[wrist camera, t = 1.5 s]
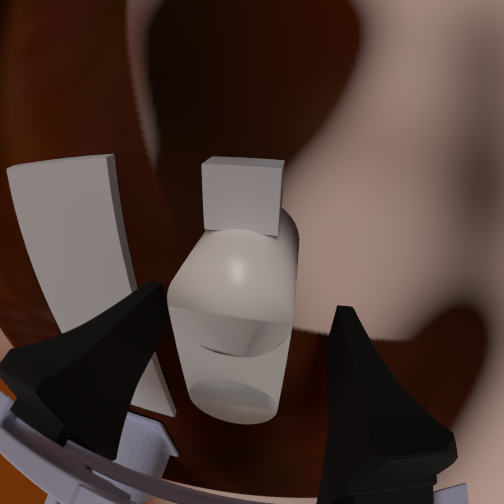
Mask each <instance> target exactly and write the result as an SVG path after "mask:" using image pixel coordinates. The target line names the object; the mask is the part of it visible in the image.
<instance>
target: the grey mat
mask: <svg viewBox="0 0 504 504" xmlns="http://www.w3.org/2000/svg"><path fill="white" fill-rule="evenodd" d="M7 175H8V180H9V185H10V189H11V194H12V198H13V203H14V207H15V210H16V214H17V218H18V222H19V225H20V229H21V232H22V235H23V239H24V242H25V245H26V248H27V251H28V254H29V257H30V260H31V262H32V265H33V268H34V271H35V273H36V276H37V278H38V281H39V283H40V286H41V288H42V291H43V293H44V295H45V298H46V300H47V302H48V305H49V307H50V309H51V311H52V313H53V315H54V318H55V320H56V322H57V324H58V326H59V328H60V330H61V332H62V333H65V332H67V331H69V330H72V329H74V328H76V327H78V326H80V325H82V324H84V323H85V322H87V321H89V320H91V319H93V318H94V317H96V316H97V315H99V314H101V313H102V312H104V311H105V310H107V309H109V308H110V307H112V306H113V305H115V304H116V303H118V302H119V301H121V300H122V299H124V298H125V297H126V296H128V295H129V294H131V293H132V292H134V291H135V290H137V289H138V288H137V283H136V279H135V275H134V270H133V266H132V261H131V257H130V252H129V247H128V242H127V237H126V232H125V226H124V220H123V214H122V208H121V202H120V195H119V188H118V181H117V173H116V164H115V155H114V154H106V155H93V156H82V157H72V158H63V159H55V160H47V161H40V162H33V163H26V164H20V165H14V166H12V167H10V168H7ZM131 404H133V405H136V406H139V407H142V408H145V409H148V410H151V411H154V412H158V413H161V414H165V415H168V416H172V417H175V414H176V412H177V411H176V409H175V406H174V404H173V401H172V398H171V396H170V393H169V390H168V387H167V385H166V382H165V379H164V376H163V373H162V370H161V367H160V364H159V361H158V358H157V355H156V352H154V354H153V356H152V358H151V360H150V361H149V363H148V365H147V367H146V369H145V371H144V373H143V374H142V376H141V378H140V381H139V383H138V385H137V388H136V390H135V393H134V396H133V398H132V401H131Z"/></svg>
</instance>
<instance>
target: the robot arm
mask: <svg viewBox="0 0 504 504" xmlns="http://www.w3.org/2000/svg"><path fill="white" fill-rule="evenodd" d="M168 320H169V316H168V311H167V306H166V301H165V296H164V291H163V286H162V283H158V282H152V281H149V282H147V283H146V284H144V285H143V286H141V287H140V288H138V289H137V290H135V291H134V292H132V293H131V294H129V295H128V296H126V297H125V298H124V299H122V300H121V301H119V302H118V303H116V304H115V305H113V306H112V307H110V308H109V309H107V310H105V311H104V312H102V313H101V314H99V315H97V316H96V317H94V318H93V319H91V320H89V321H87V322H85V323H84V324H82V325H80V326H78V327H76V328H74V329H72V330H69V331H67V332H65V333H62V334H60V335H58V336H55V337H53V338H50V339H47V340H44V341H41V342H38V343H34V344H31V345H26V346H22V347H17V348H12V349H10V350H9V352H8V353H7V354H6V356H5V357H4V358H3V360H2V361H1V362H0V377H1V379H2V380H3V381H4V382H5V384H6V385H7V386H8V387H9V389H10V390H11V391H12V392H13V393H14V394H15V396H16V397H17V399H16V401H15V402H14V401H13V400H12V399H11V398H9V397H8V396H7V395H6V394H4V393H3V392H2V391H0V453H1V454H2V455H3V456H4V457H5V458H6V459H7V460H8V461H9V462H10V463H11V464H12V465H14V466H15V467H16V468H17V469H18V470H19V471H20V472H21V473H23V474H24V475H25V476H26V477H27V478H28V479H30V480H31V481H32V482H33V483H35V484H36V485H37V486H38V487H40V488H41V489H42V490H44V491H45V492H46V493H48V496H47V499H46V501H45V504H144V502H146V501H148V500H150V499H151V498H152V497H153V496H155V497H158V498H161V499H164V500H167V501H171V502H174V503H177V504H271V503H263V502H255V501H248V500H242V499H236V498H230V497H225V496H220V495H216V494H211V493H206V492H202V491H198V490H194V489H190V488H187V487H183V486H180V485H176V484H173V483H169V482H166V481H163V480H161V478H162V476H163V473H164V470H165V467H166V465H167V462H168V459H169V456H170V455H172V456H176V457H177V456H178V455H179V453H178V452H177V450H176V448H175V446H174V445H173V443H172V441H171V439H170V438H169V436H168V434H167V432H166V430H165V428H164V427H163V425H162V423H160V422H158V421H155V420H152V419H149V418H146V417H143V416H140V415H137V414H134V413H131V412H128V410H129V407H130V404H131V401H132V398H133V396H134V393H135V390H136V388H137V385H138V383H139V381H140V378H141V376H142V374H143V373H144V371H145V369H146V367H147V365H148V363H149V361H150V360H151V358H152V356H153V354H154V352H155V350H156V348H157V347H158V345H159V343H160V341H161V339H162V337H163V334H164V331H165V329H166V326H167V323H168ZM326 363H327V381H328V400H329V422H328V434H327V443H326V452H325V459H324V466H323V473H322V479H321V484H320V489H319V494H318V499H317V503H316V504H468V494H467V484H466V483H463V484H459V485H455V486H451V487H447V488H444V489H440V490H437V491H435V492H433V485H435V484H436V483H437V477H436V475H437V474H439V473H440V472H441V471H443V470H445V469H446V468H448V467H449V466H450V465H452V464H453V463H454V462H455V460H456V459H457V458H458V455H457V448H456V442H455V438H454V435H453V432H451V431H450V430H449V429H447V428H446V427H445V426H443V425H442V424H441V423H440V422H438V421H437V420H436V419H434V418H433V417H432V416H431V415H430V414H429V413H428V412H427V411H426V410H424V409H423V408H422V407H421V406H420V405H419V404H418V403H417V402H416V401H415V400H414V399H413V397H412V396H411V395H410V394H409V393H408V392H407V391H406V390H405V389H404V388H403V386H402V385H401V384H400V383H399V382H398V380H397V379H396V378H395V376H394V375H393V374H392V373H391V371H390V370H389V368H388V367H387V365H386V364H385V363H384V361H383V359H382V358H381V356H380V355H379V353H378V352H377V350H376V349H375V347H374V345H373V343H372V342H371V340H370V338H369V337H368V335H367V333H366V331H365V330H364V327H363V326H362V324H361V322H360V320H359V318H358V316H357V314H356V312H355V310H354V308H353V307H351V306H339V305H338V306H337V308H336V312H335V316H334V320H333V323H332V327H331V331H330V334H329V338H328V342H327V362H326Z"/></svg>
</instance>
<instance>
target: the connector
mask: <svg viewBox="0 0 504 504" xmlns="http://www.w3.org/2000/svg"><path fill="white" fill-rule="evenodd" d="M283 179H284V161H283V160H270V159H256V158H237V157H211V158H210V159H208V160H207V161H206V162H204V163H203V164H202V188H203V210H204V228H205V229H207V230H206V231H205V233H204V234H203V235H202V237H201V239H200V240H199V241H198V243H197V244H196V246H195V247H194V249H193V250H192V252H191V253H190V255H189V256H188V257H187V259H186V260H185V262H184V263H183V265H182V266H181V268H180V270H179V271H178V273H177V274H176V276H175V277H174V279H173V280H172V282H171V284H170V286H169V289H168V294H167V302H168V309H169V314H170V318H171V323H172V328H173V332H174V337H175V341H176V346H177V350H178V354H179V358H180V362H181V366H182V370H183V374H184V378H185V382H186V385H187V389H188V393H189V396H190V399H191V400H192V402H193V403H194V404H195V405H196V406H197V407H198V408H199V409H201V410H202V411H203V412H205V413H207V414H209V415H211V416H213V417H215V418H218V419H220V420H223V421H227V422H232V423H238V424H257V423H262V422H266V421H268V420H270V419H272V418H273V417H274V416H275V415H276V413H277V409H278V404H279V399H280V394H281V388H282V383H283V377H284V372H285V366H286V361H287V355H288V349H289V343H290V337H291V331H292V324H293V314H294V303H295V292H296V279H297V265H298V253H299V233H298V230H297V227H296V224H295V222H294V221H293V219H292V218H291V216H290V215H289V214H288V213H287V212H286V211H285V210H284V209H283V208H282V194H283Z"/></svg>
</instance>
